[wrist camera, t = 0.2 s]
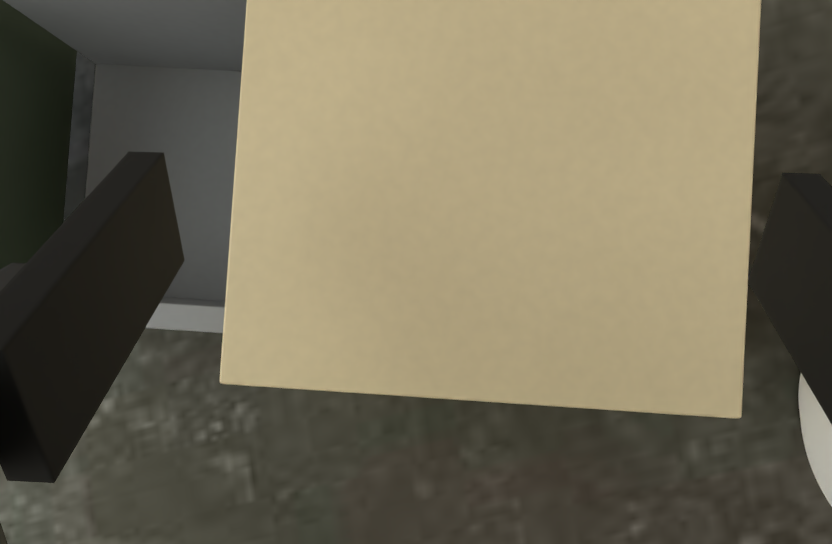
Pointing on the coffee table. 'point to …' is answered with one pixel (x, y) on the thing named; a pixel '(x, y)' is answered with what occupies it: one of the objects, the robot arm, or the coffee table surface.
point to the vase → (816, 437)
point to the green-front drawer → (126, 124)
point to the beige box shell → (495, 201)
